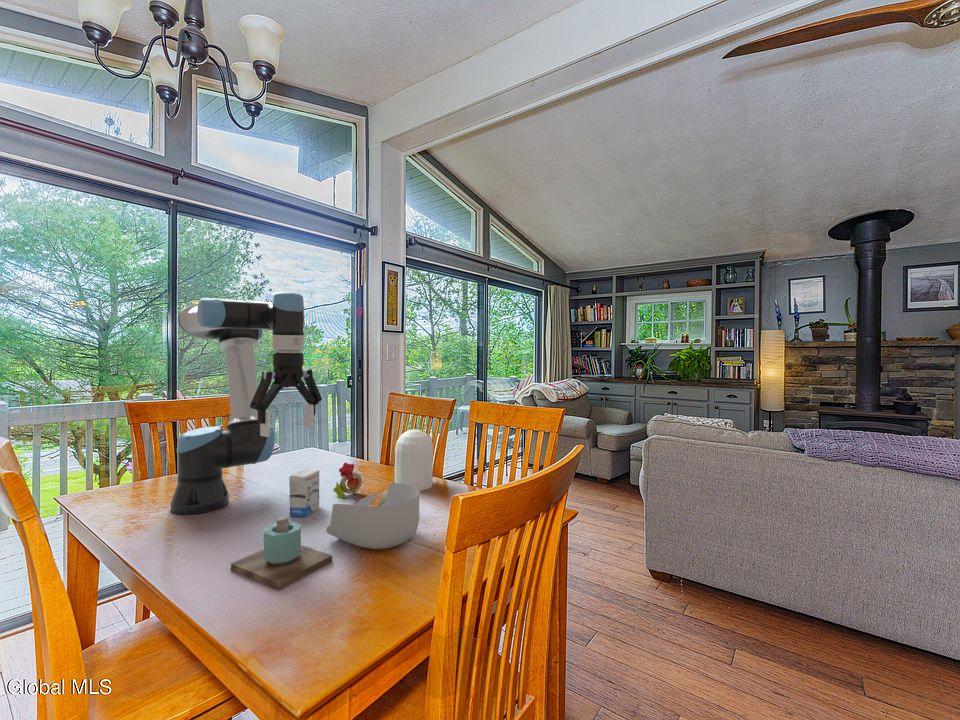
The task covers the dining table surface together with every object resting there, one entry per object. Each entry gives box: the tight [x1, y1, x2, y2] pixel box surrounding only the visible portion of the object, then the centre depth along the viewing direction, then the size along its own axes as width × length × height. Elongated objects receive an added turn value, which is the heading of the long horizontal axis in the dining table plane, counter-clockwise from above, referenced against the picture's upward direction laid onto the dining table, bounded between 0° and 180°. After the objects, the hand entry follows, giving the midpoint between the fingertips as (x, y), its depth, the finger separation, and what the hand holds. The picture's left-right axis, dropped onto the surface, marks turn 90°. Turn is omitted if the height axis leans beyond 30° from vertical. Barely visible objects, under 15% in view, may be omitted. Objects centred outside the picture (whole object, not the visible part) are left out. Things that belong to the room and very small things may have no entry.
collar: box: [263, 521, 302, 563], centre depth 101 cm, size 7×7×6 cm
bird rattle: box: [332, 462, 363, 499], centre depth 149 cm, size 6×11×9 cm
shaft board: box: [230, 517, 333, 591], centre depth 101 cm, size 16×14×10 cm
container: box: [394, 428, 434, 492], centre depth 160 cm, size 14×13×20 cm
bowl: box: [325, 482, 420, 550], centre depth 116 cm, size 20×19×12 cm
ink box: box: [288, 468, 320, 518], centre depth 134 cm, size 9×5×12 cm, turn 168°
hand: (288, 431), depth 120 cm, fingers open, 13 cm apart
